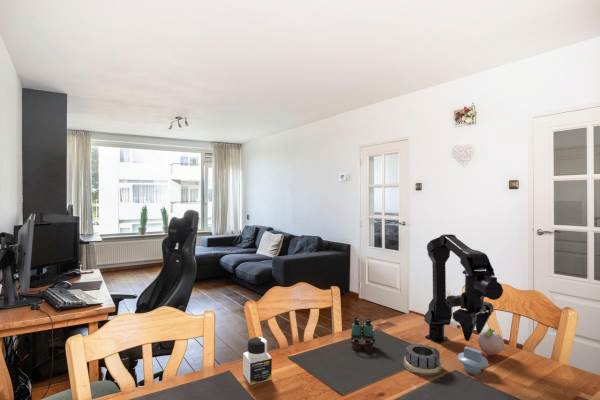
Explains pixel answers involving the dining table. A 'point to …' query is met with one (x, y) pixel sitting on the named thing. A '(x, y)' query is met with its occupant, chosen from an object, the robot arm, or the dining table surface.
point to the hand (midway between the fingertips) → (472, 336)
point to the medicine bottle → (257, 361)
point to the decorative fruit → (490, 342)
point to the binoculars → (362, 335)
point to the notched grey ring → (422, 360)
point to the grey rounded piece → (472, 360)
